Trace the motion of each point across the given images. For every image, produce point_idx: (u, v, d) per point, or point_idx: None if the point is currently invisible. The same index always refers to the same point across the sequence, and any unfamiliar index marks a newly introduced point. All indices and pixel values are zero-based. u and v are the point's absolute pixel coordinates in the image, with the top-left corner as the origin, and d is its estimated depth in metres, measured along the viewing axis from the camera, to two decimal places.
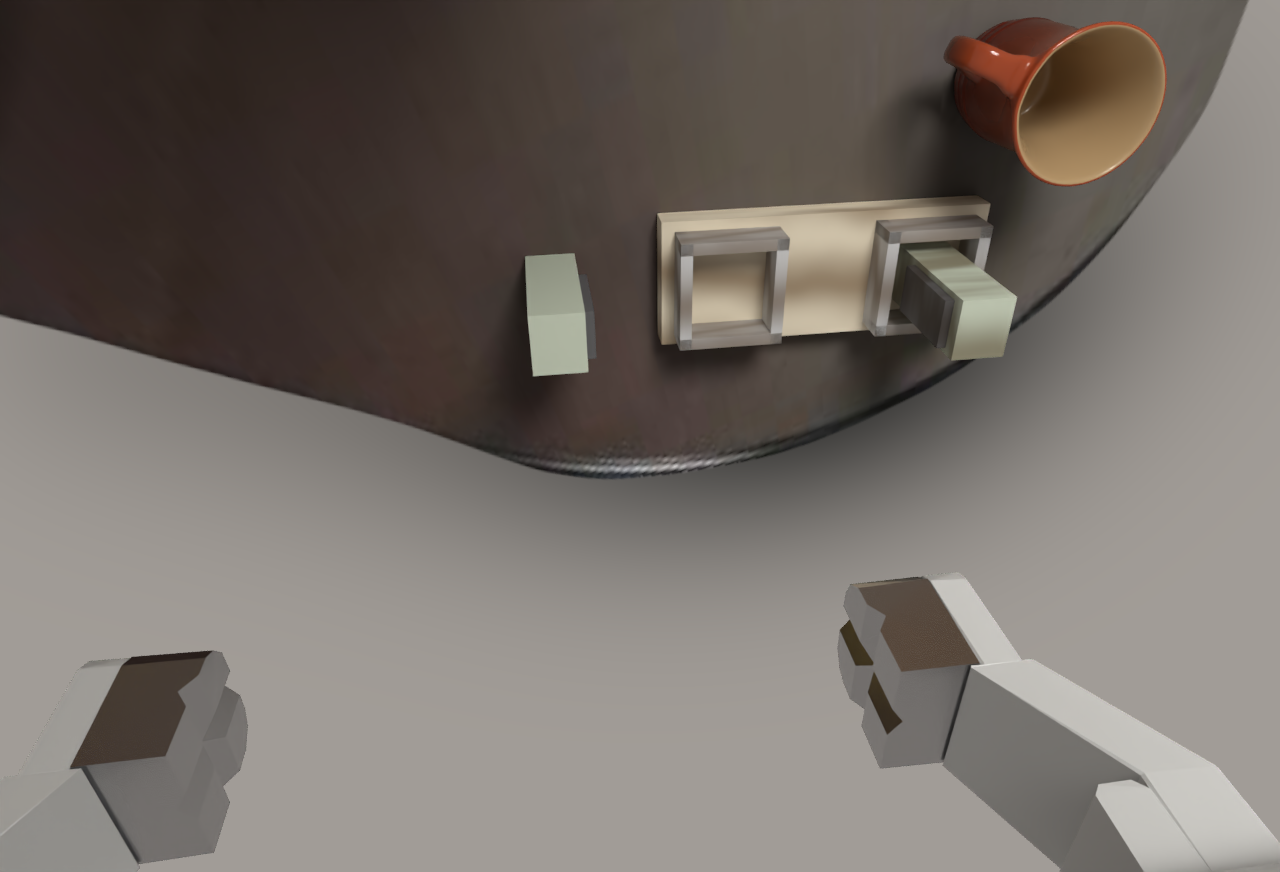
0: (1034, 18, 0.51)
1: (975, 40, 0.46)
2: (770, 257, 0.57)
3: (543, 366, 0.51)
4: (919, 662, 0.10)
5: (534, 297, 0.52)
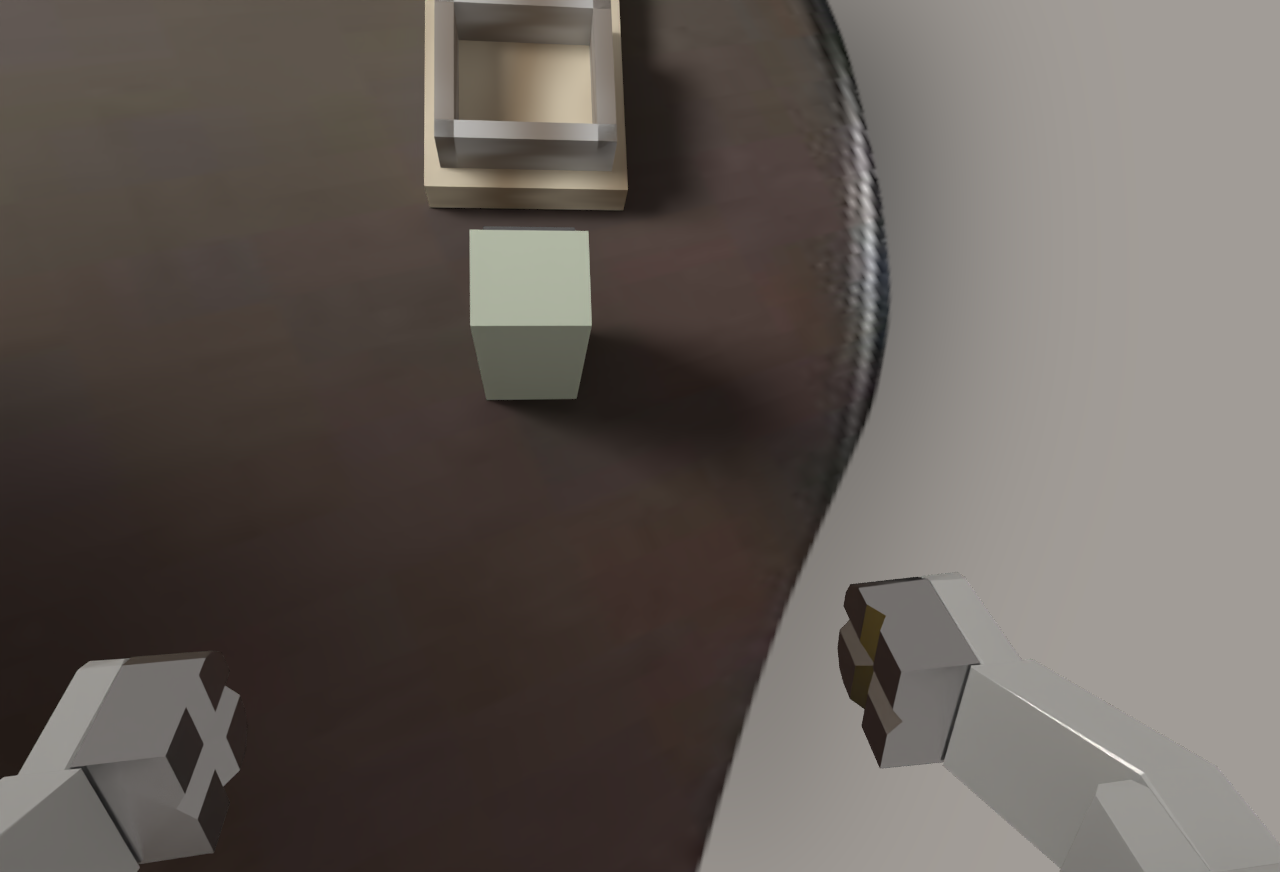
0: None
1: None
2: (479, 26, 0.38)
3: (572, 306, 0.28)
4: (920, 662, 0.10)
5: None
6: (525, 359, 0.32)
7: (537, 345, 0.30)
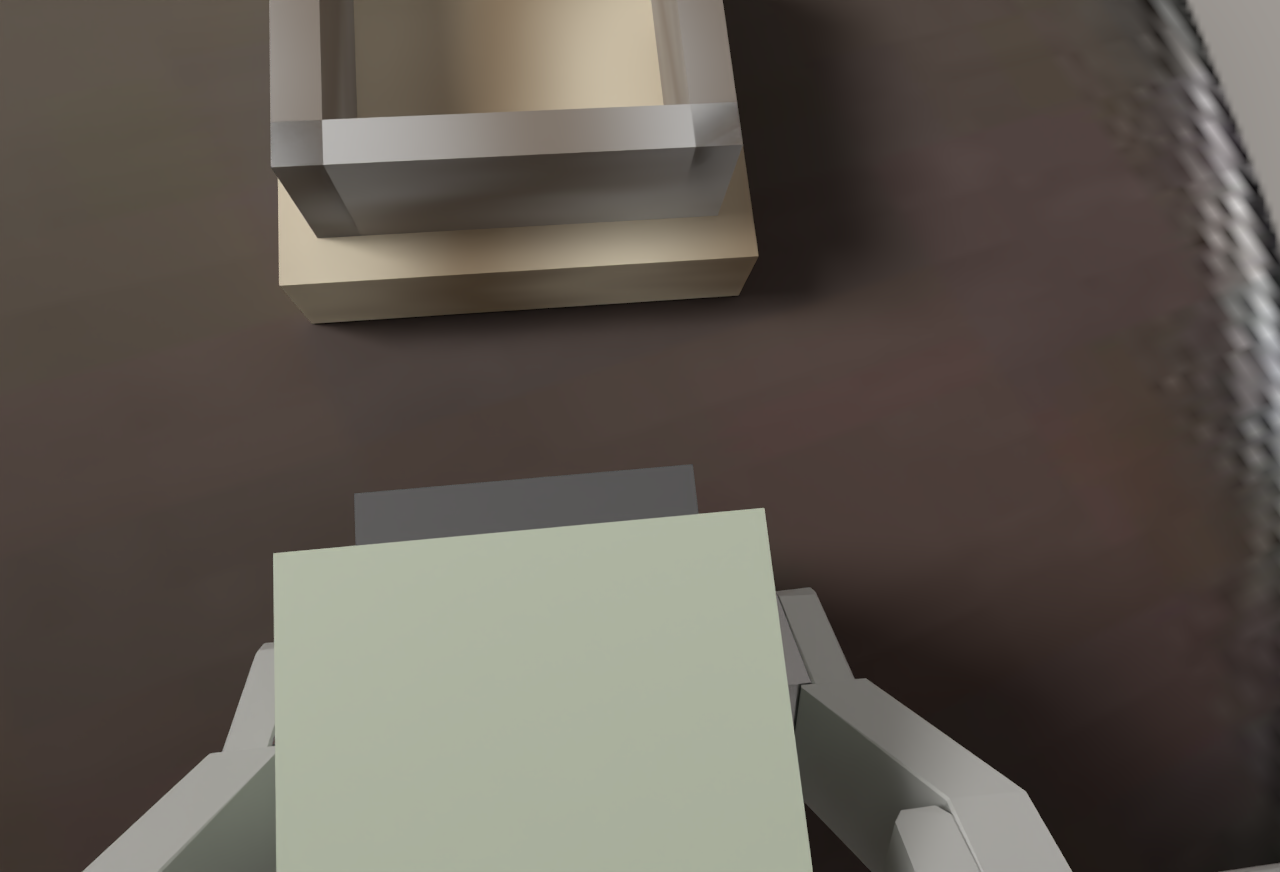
0: None
1: None
2: None
3: (728, 866, 0.06)
4: None
5: None
6: None
7: None
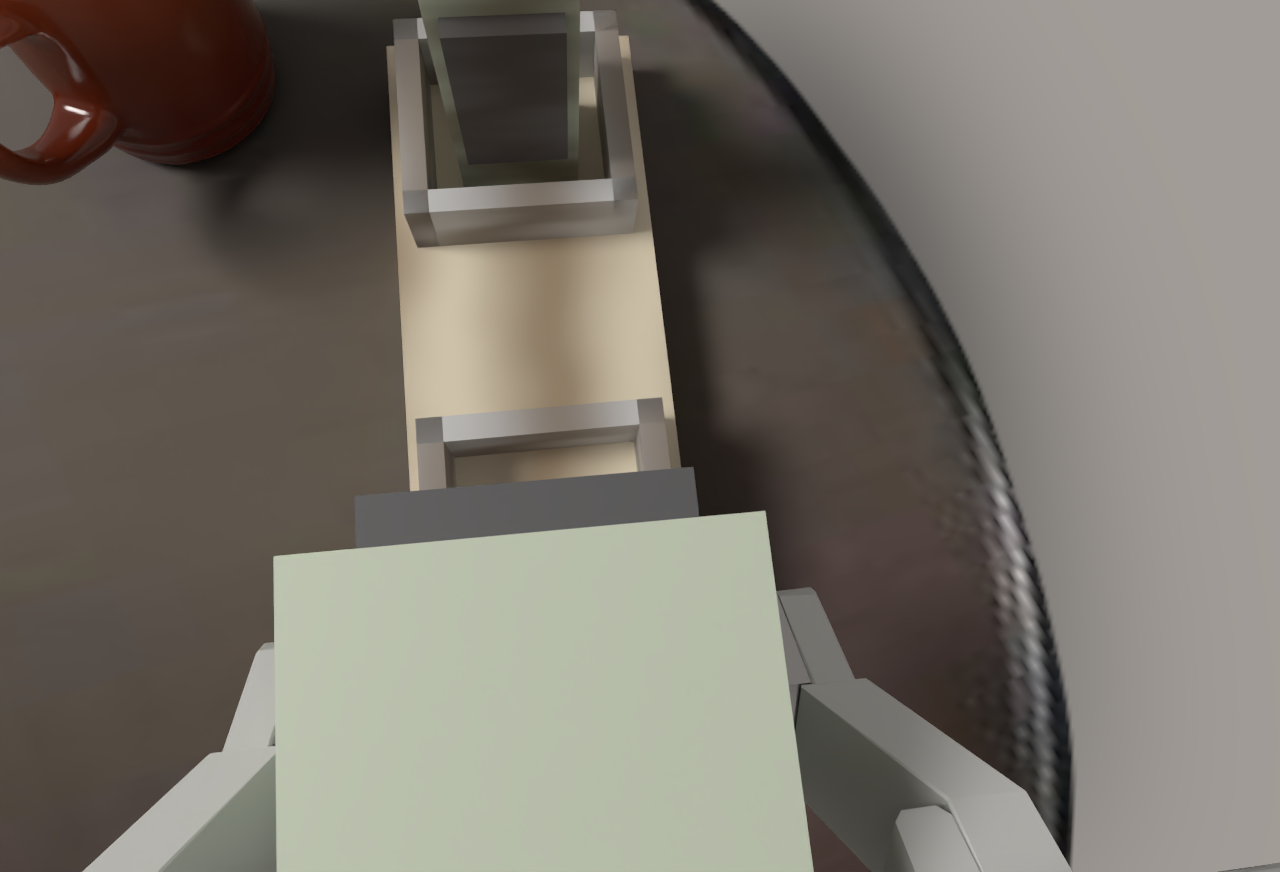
0: None
1: None
2: (481, 449, 0.27)
3: (729, 870, 0.06)
4: None
5: None
6: None
7: None
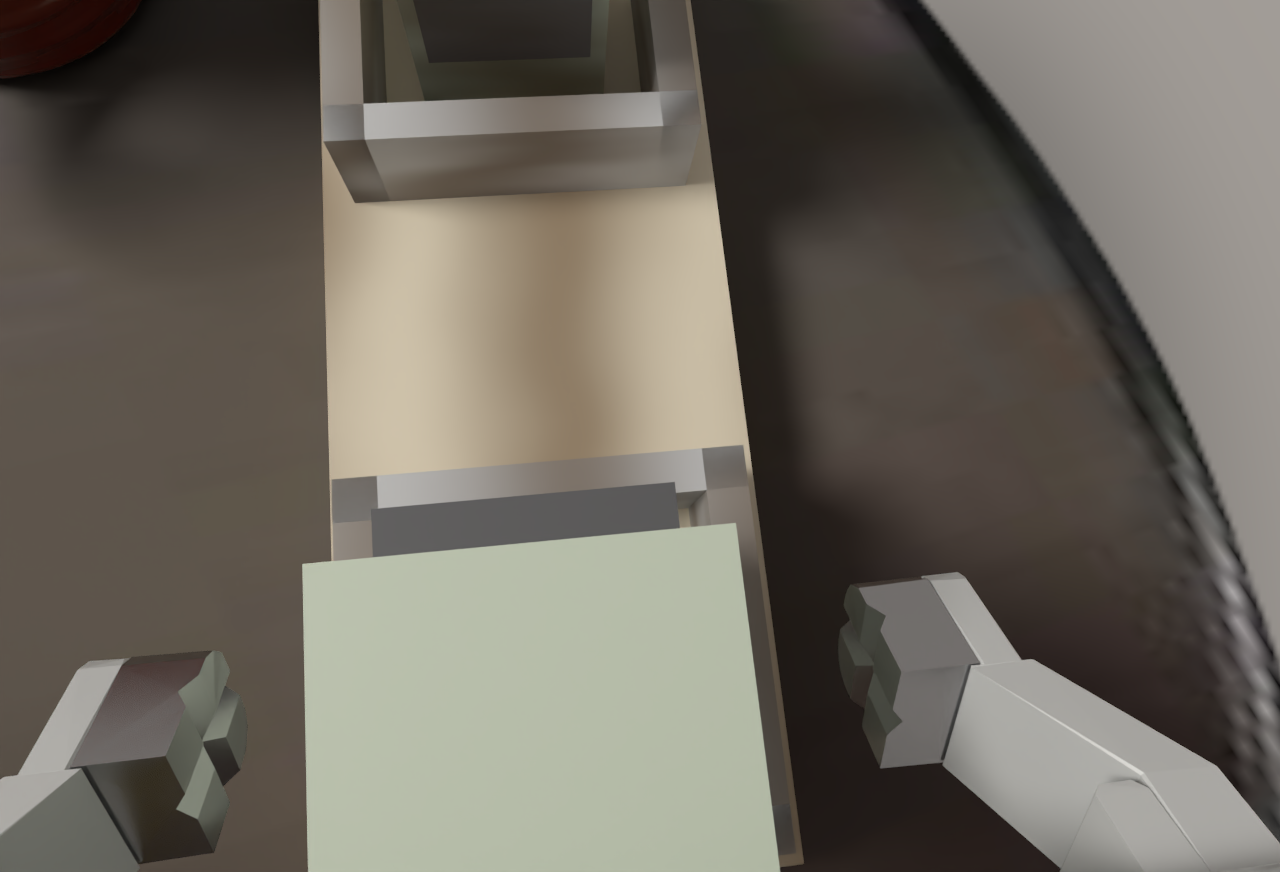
0: None
1: None
2: None
3: (702, 838, 0.07)
4: (919, 662, 0.10)
5: None
6: None
7: None
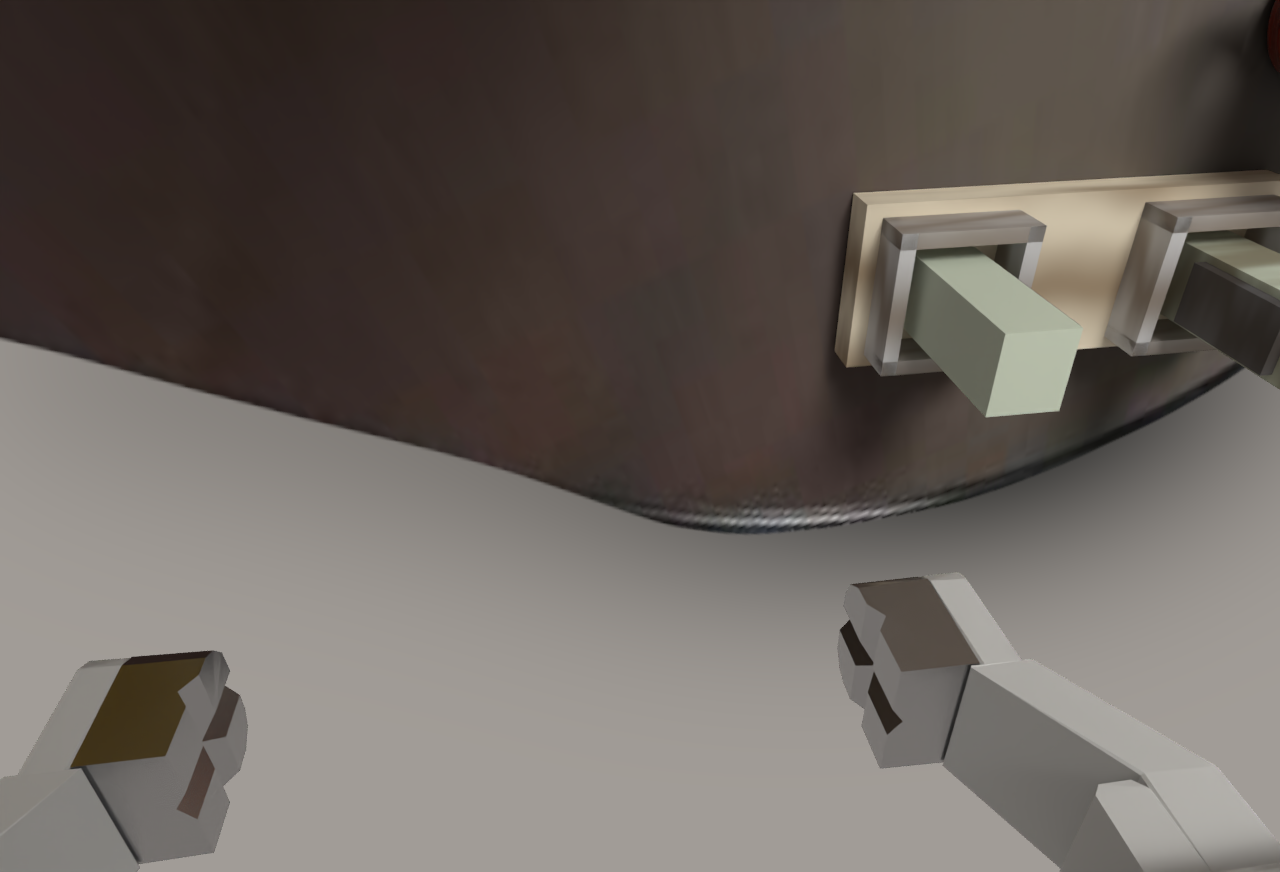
0: None
1: None
2: (1007, 251, 0.42)
3: (1003, 403, 0.36)
4: (919, 662, 0.10)
5: (984, 306, 0.37)
6: (955, 332, 0.39)
7: (971, 359, 0.37)
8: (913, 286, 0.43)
